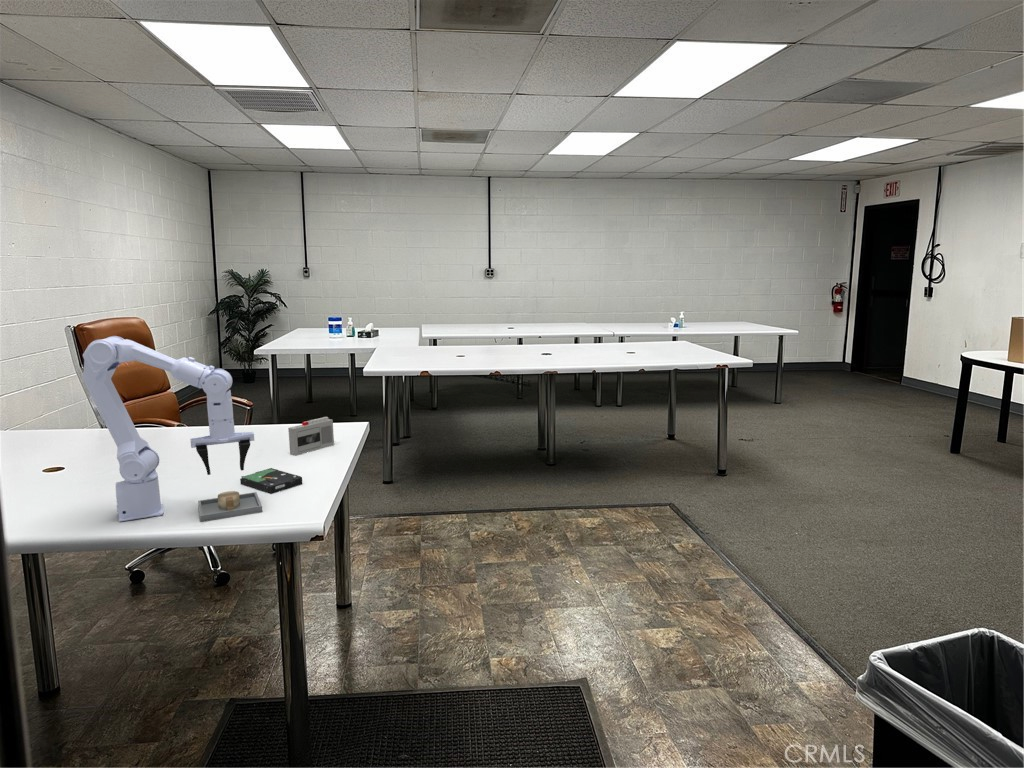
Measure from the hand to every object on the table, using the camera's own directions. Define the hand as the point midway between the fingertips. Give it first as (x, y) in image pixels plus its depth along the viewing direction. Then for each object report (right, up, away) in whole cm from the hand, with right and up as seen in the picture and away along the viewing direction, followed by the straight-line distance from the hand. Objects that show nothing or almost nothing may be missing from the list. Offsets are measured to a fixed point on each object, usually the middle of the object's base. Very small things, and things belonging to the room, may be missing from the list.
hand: (225, 471), depth 169 cm
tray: (+1, -10, 0) cm, 10 cm away
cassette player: (+6, 0, +55) cm, 55 cm away
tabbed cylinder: (+1, -9, 0) cm, 9 cm away
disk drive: (+5, -7, +20) cm, 21 cm away
